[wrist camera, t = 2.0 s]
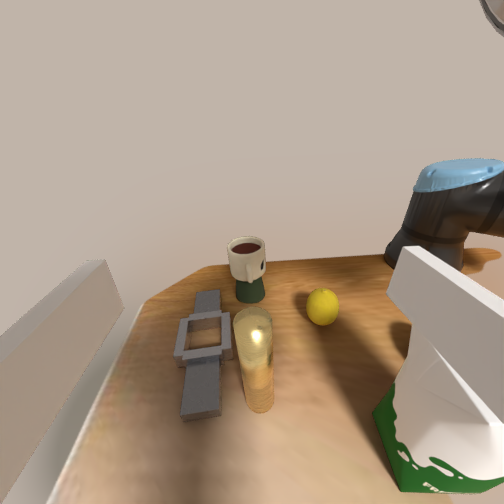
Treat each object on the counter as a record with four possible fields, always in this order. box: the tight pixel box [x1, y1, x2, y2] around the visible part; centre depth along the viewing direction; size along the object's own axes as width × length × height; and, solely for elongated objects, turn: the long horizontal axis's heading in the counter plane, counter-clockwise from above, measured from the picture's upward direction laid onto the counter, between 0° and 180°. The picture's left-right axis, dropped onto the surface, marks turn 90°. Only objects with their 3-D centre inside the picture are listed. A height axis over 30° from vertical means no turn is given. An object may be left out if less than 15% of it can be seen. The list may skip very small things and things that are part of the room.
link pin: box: [233, 307, 274, 413], centre depth 27 cm, size 4×4×16 cm
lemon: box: [306, 288, 339, 325], centre depth 39 cm, size 6×6×8 cm
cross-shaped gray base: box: [173, 289, 233, 422], centre depth 38 cm, size 9×23×3 cm, turn 7°
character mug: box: [227, 236, 266, 303], centre depth 45 cm, size 11×7×13 cm, turn 7°
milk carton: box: [372, 324, 504, 494], centre depth 20 cm, size 9×9×20 cm
